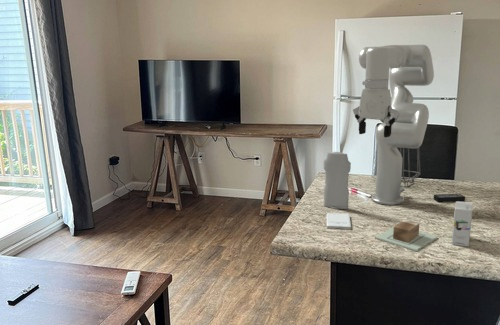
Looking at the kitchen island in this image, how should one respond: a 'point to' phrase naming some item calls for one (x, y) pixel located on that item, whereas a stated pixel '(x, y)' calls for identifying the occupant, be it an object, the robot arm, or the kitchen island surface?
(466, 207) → the ink box
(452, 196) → the multiport hub
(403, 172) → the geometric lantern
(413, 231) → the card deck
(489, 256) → the kitchen island surface
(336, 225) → the external hard drive
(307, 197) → the kitchen island surface
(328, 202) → the tall pale column
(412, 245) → the mat
